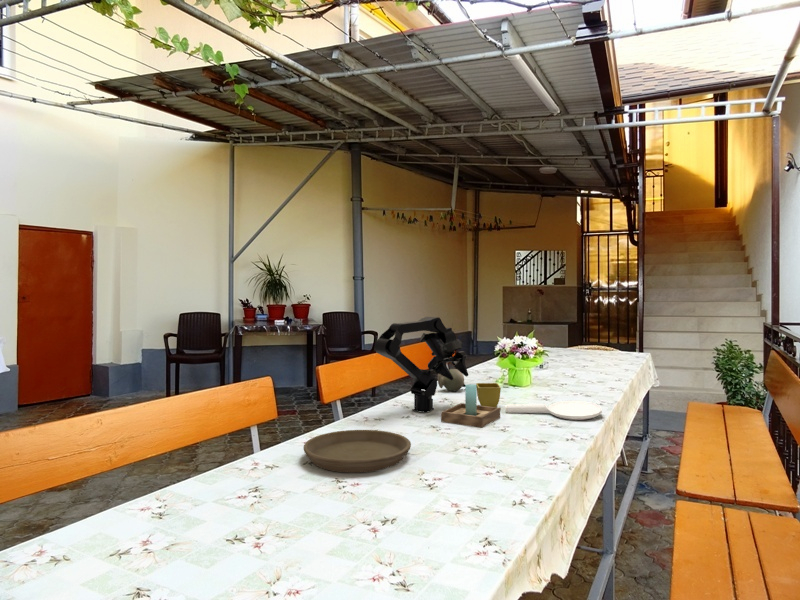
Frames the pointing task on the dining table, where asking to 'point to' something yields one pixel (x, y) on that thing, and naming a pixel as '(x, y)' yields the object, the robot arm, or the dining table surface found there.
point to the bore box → (459, 415)
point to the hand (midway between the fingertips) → (460, 377)
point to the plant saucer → (357, 450)
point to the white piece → (560, 409)
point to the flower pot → (488, 394)
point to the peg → (471, 399)
